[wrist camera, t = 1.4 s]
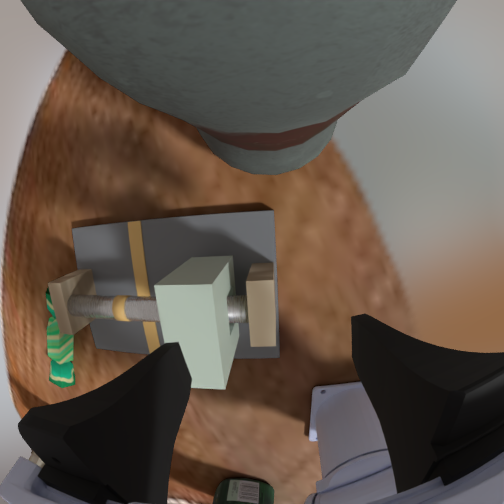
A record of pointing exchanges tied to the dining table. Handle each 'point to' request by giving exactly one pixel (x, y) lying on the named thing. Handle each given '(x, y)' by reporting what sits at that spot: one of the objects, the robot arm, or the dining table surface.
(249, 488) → the coffee jar
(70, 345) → the candy
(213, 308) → the grey square nut
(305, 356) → the dining table surface
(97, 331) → the pipe rig
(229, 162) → the bottle
